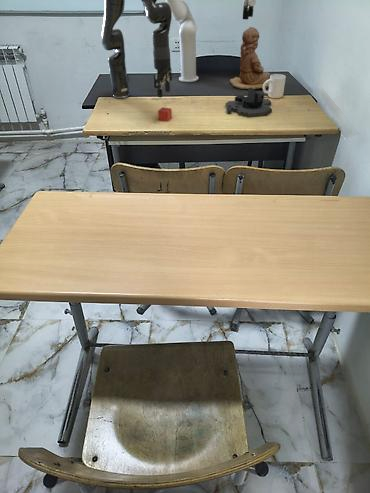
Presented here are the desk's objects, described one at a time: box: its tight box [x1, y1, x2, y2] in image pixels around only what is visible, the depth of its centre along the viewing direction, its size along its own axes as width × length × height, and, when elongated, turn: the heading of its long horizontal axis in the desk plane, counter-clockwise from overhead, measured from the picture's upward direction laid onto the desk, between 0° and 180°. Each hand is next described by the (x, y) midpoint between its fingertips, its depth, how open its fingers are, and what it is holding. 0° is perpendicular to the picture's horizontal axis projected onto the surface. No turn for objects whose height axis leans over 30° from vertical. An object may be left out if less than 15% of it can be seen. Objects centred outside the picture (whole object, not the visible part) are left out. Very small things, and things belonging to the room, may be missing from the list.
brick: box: [157, 107, 173, 122], centre depth 176 cm, size 5×5×4 cm
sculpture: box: [229, 26, 271, 90], centre depth 208 cm, size 27×24×30 cm
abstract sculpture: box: [224, 88, 273, 118], centre depth 181 cm, size 25×9×20 cm
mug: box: [262, 73, 287, 99], centre depth 195 cm, size 12×8×10 cm
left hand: (164, 94), depth 170 cm, fingers open, 8 cm apart
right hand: (247, 17), depth 204 cm, fingers open, 9 cm apart
